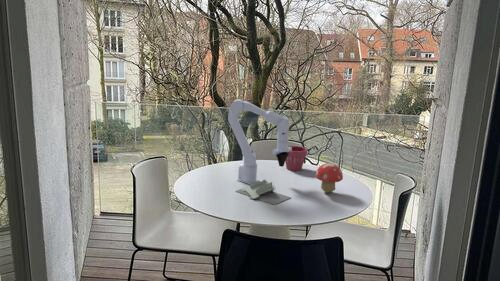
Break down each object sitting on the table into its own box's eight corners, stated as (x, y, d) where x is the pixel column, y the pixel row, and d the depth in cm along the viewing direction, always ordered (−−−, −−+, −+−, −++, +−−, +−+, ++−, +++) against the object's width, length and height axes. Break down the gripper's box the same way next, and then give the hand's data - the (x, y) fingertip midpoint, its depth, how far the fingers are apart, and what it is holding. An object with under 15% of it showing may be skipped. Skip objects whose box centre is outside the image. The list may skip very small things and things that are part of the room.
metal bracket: (265, 175, 189) (278, 185, 176) (267, 185, 191) (280, 196, 178) (239, 185, 185) (250, 196, 172) (242, 196, 187) (253, 207, 173)
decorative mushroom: (321, 198, 179) (323, 167, 176) (309, 188, 191) (311, 160, 188) (346, 196, 182) (349, 166, 179) (333, 187, 195) (335, 159, 192)
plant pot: (279, 170, 222) (280, 149, 219) (284, 164, 235) (285, 144, 232) (303, 173, 218) (305, 152, 215) (307, 167, 231) (308, 147, 228)
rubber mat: (235, 191, 183) (235, 190, 183) (253, 185, 193) (253, 185, 193) (274, 205, 168) (274, 204, 168) (291, 198, 177) (291, 197, 177)
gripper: (280, 144, 186) (279, 170, 189) (297, 140, 196) (295, 165, 199) (269, 141, 190) (268, 167, 193) (286, 138, 201) (284, 162, 204)
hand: (281, 166), depth 197 cm, fingers closed
